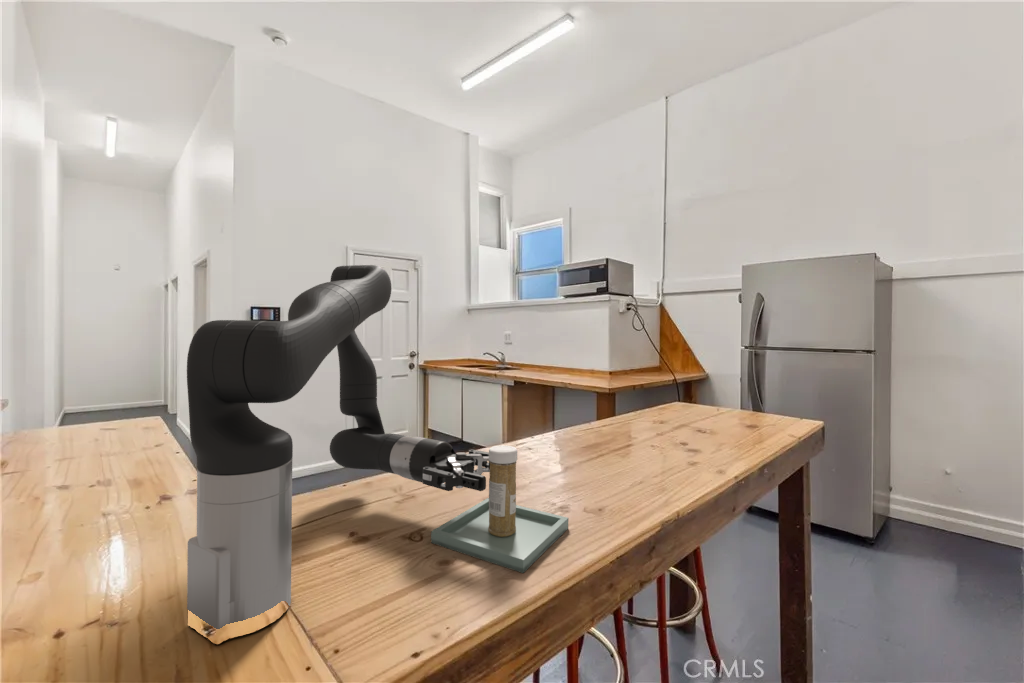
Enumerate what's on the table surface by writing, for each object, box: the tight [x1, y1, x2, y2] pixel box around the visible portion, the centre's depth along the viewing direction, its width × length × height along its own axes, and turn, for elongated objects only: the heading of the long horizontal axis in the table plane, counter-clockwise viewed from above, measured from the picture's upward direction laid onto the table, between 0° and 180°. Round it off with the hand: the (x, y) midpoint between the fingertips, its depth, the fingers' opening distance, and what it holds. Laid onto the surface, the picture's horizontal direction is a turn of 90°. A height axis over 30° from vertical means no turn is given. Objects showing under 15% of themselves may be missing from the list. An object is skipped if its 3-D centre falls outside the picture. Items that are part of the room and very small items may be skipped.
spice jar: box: [488, 444, 518, 537], centre depth 71 cm, size 5×5×13 cm
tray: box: [430, 497, 569, 574], centre depth 71 cm, size 16×16×2 cm
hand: (499, 476), depth 71 cm, fingers open, 8 cm apart
